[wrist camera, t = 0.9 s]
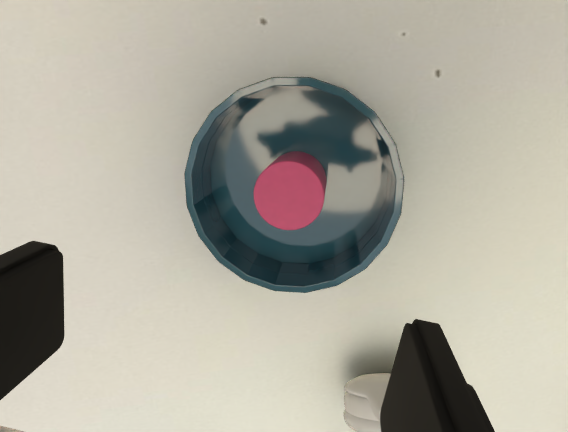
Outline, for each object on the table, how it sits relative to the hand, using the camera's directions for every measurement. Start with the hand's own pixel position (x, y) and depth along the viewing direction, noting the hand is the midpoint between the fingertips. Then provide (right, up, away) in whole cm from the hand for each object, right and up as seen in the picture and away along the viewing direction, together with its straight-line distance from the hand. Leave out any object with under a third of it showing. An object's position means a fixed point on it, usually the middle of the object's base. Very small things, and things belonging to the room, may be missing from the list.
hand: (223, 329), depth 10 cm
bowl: (+3, +6, +19) cm, 20 cm away
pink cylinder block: (+3, +6, +18) cm, 19 cm away
